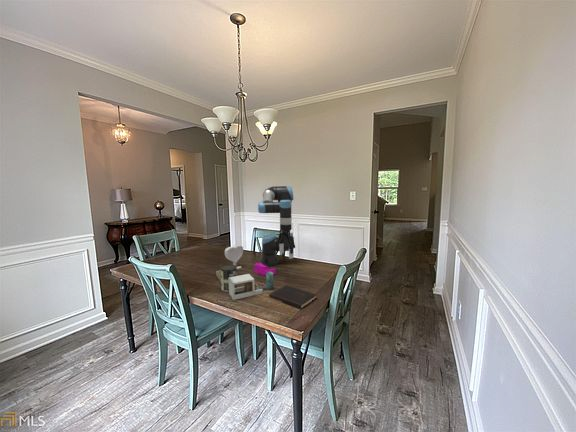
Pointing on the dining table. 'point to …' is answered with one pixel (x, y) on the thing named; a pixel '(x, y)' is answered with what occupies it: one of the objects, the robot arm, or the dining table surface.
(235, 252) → the heart sculpture
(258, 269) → the toy block
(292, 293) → the hardcover book
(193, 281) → the dining table surface
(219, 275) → the block tray
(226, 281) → the coffee can
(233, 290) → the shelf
